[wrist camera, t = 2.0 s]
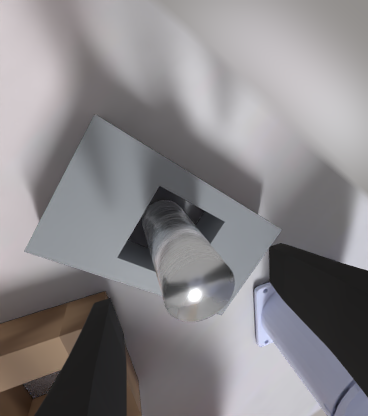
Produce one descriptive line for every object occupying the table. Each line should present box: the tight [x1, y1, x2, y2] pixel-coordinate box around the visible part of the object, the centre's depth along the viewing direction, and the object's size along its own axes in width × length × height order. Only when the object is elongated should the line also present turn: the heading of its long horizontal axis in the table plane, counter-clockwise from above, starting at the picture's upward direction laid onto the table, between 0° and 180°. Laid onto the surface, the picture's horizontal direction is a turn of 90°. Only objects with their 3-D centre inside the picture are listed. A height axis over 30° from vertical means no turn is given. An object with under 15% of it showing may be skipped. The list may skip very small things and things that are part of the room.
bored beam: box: [24, 115, 282, 315], centre depth 16 cm, size 14×8×3 cm, turn 57°
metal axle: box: [142, 200, 235, 322], centre depth 13 cm, size 3×3×8 cm
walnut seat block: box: [0, 291, 142, 416], centre depth 17 cm, size 11×11×3 cm
